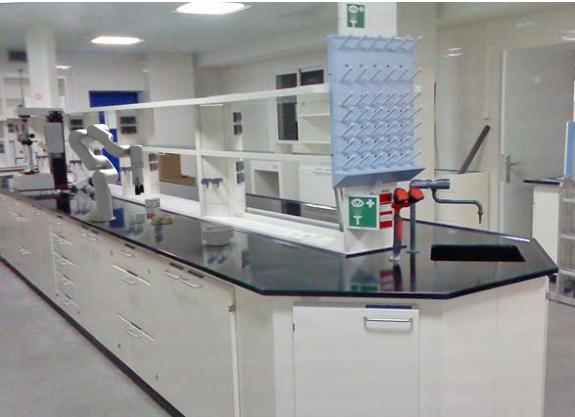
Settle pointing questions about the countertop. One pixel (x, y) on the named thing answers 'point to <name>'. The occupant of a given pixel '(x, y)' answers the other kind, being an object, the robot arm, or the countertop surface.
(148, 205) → the ink box
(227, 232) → the paper bowls
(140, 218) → the cube
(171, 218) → the maple stand
